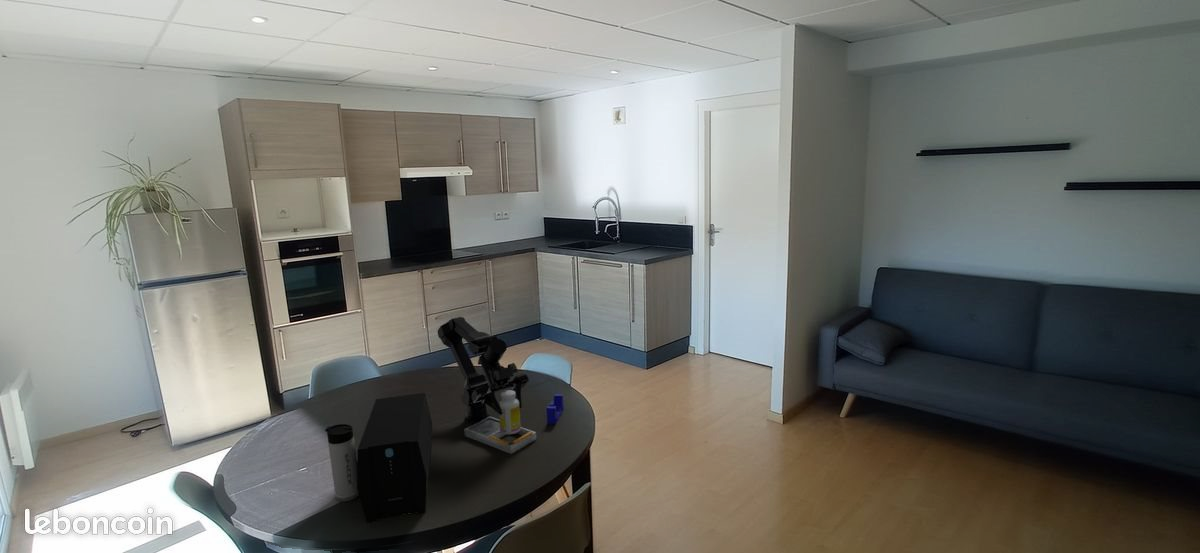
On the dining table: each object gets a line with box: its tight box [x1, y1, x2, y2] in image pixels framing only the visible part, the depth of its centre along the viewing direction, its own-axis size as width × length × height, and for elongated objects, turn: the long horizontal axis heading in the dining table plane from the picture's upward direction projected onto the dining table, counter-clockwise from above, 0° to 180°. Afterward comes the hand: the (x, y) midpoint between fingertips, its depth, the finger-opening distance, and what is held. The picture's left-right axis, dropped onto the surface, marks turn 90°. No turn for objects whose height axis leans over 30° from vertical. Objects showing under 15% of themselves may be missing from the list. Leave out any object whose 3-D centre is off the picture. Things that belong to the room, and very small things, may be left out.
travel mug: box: [325, 423, 360, 502], centre depth 146 cm, size 6×7×20 cm
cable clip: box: [546, 393, 565, 425], centre depth 192 cm, size 12×4×6 cm, turn 171°
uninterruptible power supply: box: [356, 392, 433, 524], centre depth 152 cm, size 16×34×20 cm, turn 15°
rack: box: [463, 416, 537, 455], centre depth 177 cm, size 22×11×3 cm, turn 53°
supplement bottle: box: [498, 389, 522, 435], centre depth 173 cm, size 7×7×13 cm
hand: (511, 411), depth 172 cm, fingers closed on supplement bottle, 7 cm apart
